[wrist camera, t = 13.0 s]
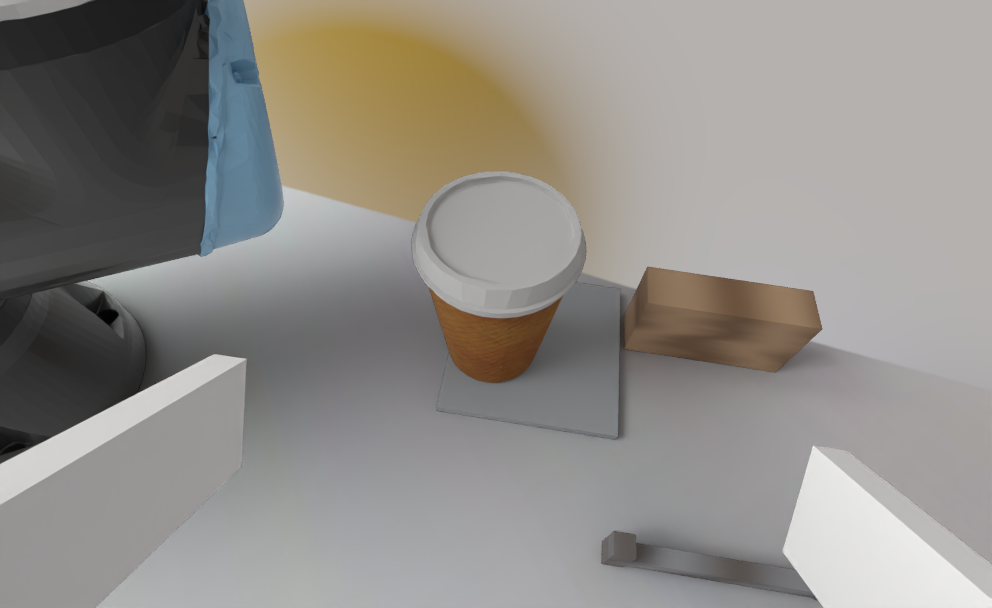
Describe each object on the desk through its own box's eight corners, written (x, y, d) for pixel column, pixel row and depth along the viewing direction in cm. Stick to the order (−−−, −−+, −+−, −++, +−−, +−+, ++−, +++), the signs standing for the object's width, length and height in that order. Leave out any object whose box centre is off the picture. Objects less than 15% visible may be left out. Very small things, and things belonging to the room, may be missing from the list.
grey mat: (436, 410, 35) (436, 407, 35) (468, 270, 42) (468, 265, 41) (615, 439, 35) (617, 436, 34) (618, 293, 41) (620, 288, 41)
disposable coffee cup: (472, 432, 34) (473, 330, 24) (401, 326, 38) (377, 204, 28) (586, 361, 37) (628, 246, 27) (509, 271, 41) (521, 145, 32)
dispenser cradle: (601, 563, 30) (628, 544, 26) (608, 312, 40) (629, 263, 35) (835, 603, 30) (910, 591, 25) (785, 339, 40) (831, 293, 35)
